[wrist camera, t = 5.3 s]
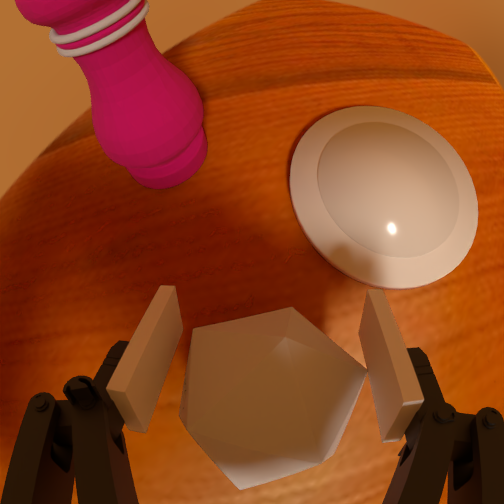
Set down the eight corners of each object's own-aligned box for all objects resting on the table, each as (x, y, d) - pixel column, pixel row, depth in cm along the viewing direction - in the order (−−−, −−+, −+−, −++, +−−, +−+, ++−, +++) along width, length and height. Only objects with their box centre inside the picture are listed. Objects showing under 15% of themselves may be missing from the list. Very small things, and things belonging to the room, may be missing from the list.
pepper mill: (178, 105, 25) (99, -112, 6) (234, 151, 23) (168, -138, 4) (109, 158, 24) (-29, -40, 5) (156, 215, 22) (-32, -44, 3)
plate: (289, 290, 19) (290, 286, 18) (287, 109, 24) (287, 100, 22) (484, 287, 18) (493, 283, 17) (447, 124, 22) (452, 116, 21)
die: (276, 289, 20) (138, 290, 13) (408, 334, 15) (319, 393, 7) (248, 400, 21) (125, 439, 14) (356, 459, 15) (249, 554, 8)
